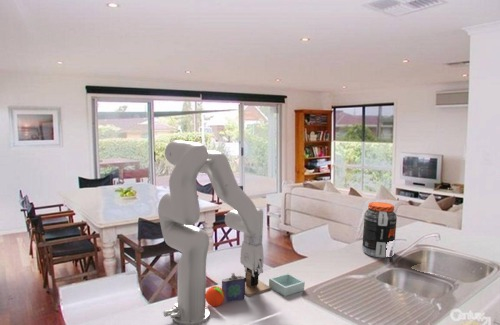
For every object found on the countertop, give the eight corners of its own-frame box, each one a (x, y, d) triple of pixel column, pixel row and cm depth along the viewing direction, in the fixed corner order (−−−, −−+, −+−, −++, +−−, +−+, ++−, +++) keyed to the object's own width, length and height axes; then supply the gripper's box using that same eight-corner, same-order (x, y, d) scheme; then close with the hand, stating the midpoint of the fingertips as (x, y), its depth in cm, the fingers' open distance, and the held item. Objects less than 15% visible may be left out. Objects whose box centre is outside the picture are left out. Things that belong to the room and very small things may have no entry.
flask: (222, 305, 137) (223, 277, 136) (219, 301, 140) (220, 273, 139) (245, 300, 141) (246, 273, 140) (242, 297, 144) (243, 270, 143)
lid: (248, 296, 143) (248, 279, 143) (232, 285, 152) (232, 269, 152) (270, 289, 150) (271, 273, 149) (254, 279, 159) (255, 263, 158)
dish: (284, 298, 144) (285, 288, 144) (268, 287, 152) (269, 278, 152) (304, 291, 150) (304, 282, 149) (287, 282, 158) (288, 273, 158)
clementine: (230, 306, 137) (230, 287, 136) (216, 313, 132) (216, 294, 131) (215, 298, 142) (215, 280, 141) (201, 305, 137) (201, 286, 136)
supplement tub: (390, 261, 185) (394, 209, 182) (358, 254, 193) (361, 205, 190) (396, 251, 198) (400, 203, 195) (366, 245, 206) (369, 199, 203)
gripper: (233, 234, 153) (232, 277, 155) (257, 246, 140) (256, 293, 142) (248, 232, 157) (247, 274, 160) (273, 243, 144) (271, 289, 146)
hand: (251, 282), depth 151 cm, fingers closed on lid, 3 cm apart
